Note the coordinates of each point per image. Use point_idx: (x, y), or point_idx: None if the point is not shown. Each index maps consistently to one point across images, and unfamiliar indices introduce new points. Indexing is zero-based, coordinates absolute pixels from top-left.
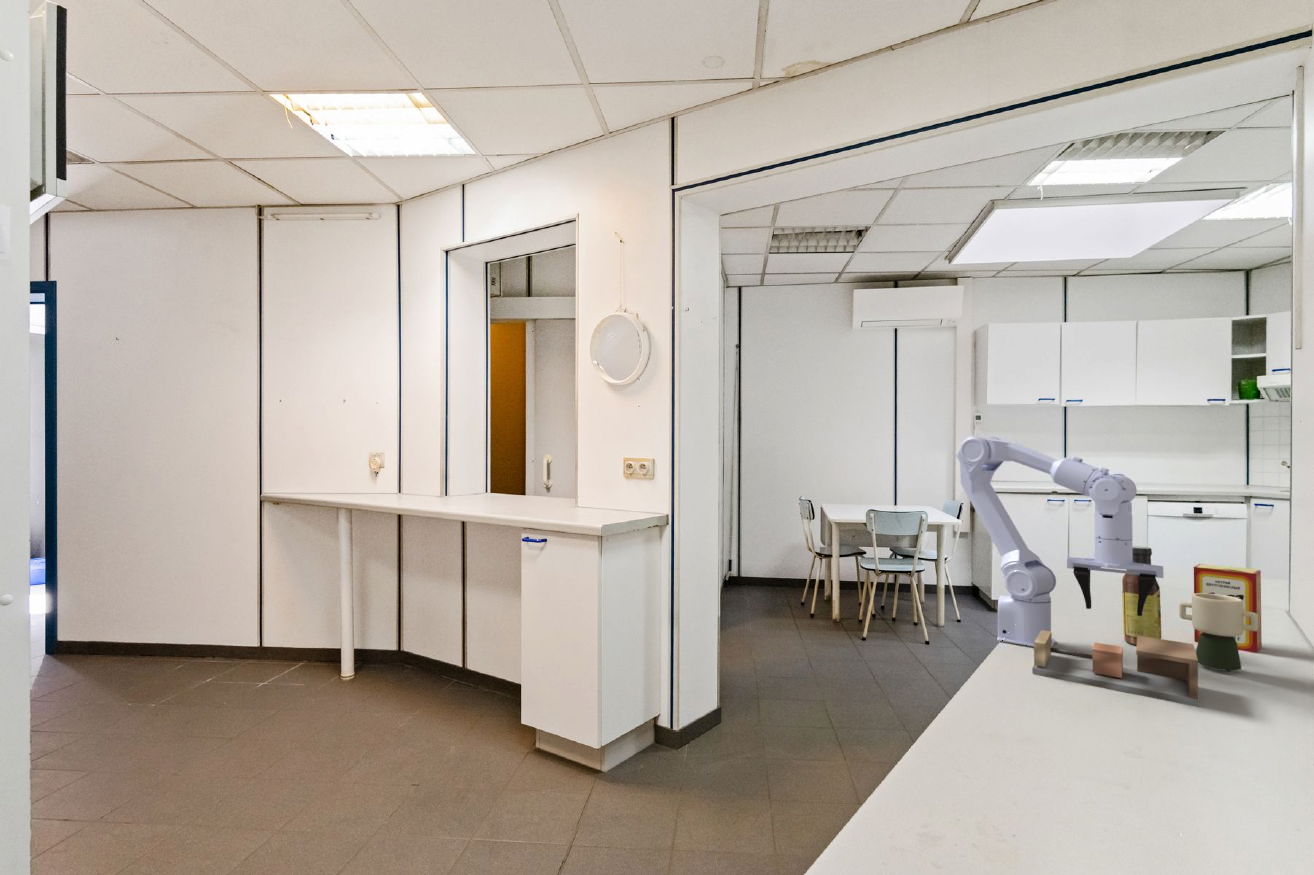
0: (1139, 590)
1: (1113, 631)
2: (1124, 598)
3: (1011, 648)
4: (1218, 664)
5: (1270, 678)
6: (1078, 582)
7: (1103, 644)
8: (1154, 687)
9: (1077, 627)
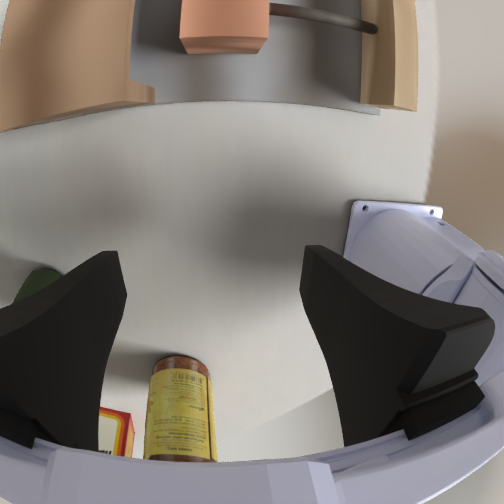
0: (43, 311)
1: (232, 409)
2: (210, 446)
3: (421, 166)
4: (38, 274)
5: (7, 289)
6: (429, 297)
7: (239, 27)
8: None
9: (285, 399)
